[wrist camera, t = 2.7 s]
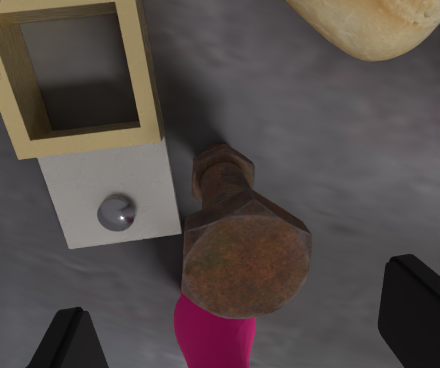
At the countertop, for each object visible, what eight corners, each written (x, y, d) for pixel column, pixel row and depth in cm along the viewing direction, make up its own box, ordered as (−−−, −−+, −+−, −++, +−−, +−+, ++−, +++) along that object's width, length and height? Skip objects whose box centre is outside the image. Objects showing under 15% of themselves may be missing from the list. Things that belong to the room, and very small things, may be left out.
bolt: (173, 166, 25) (148, 284, 11) (205, 117, 24) (223, 182, 10) (227, 199, 27) (265, 339, 13) (260, 155, 26) (342, 256, 12)
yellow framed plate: (109, -189, 17) (89, -250, 14) (182, 227, 27) (180, 248, 24) (-68, -176, 17) (-131, -235, 13) (74, 241, 27) (58, 265, 24)
